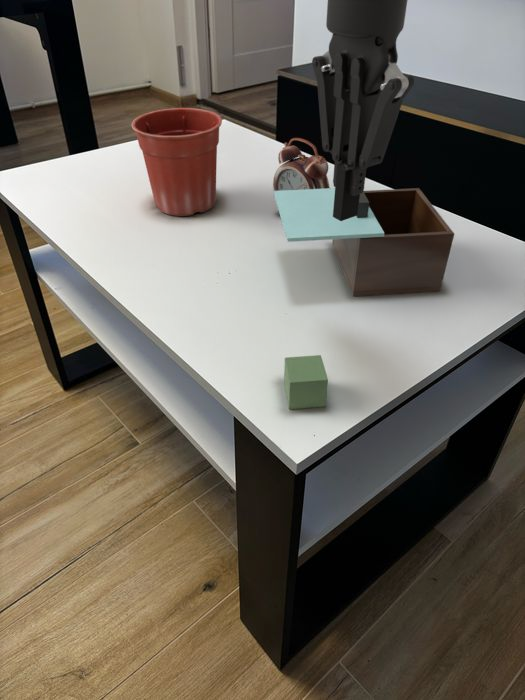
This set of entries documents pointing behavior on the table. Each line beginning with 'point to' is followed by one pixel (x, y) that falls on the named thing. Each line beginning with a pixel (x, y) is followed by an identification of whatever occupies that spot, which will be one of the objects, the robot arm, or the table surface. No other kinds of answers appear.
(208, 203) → the flower pot
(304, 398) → the block
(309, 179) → the alarm clock
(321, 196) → the light blue board
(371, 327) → the table surface
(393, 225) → the case
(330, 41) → the robot arm
